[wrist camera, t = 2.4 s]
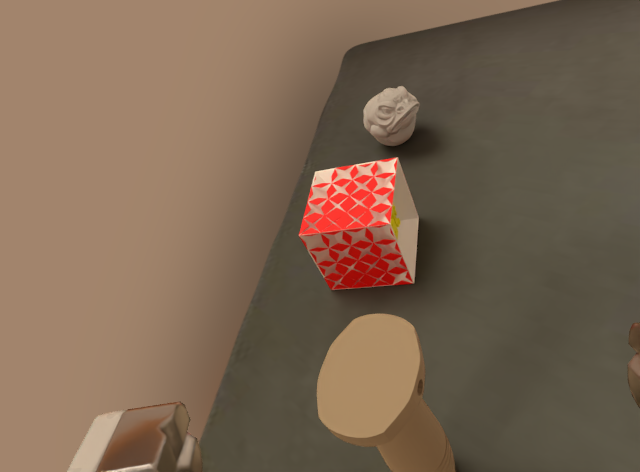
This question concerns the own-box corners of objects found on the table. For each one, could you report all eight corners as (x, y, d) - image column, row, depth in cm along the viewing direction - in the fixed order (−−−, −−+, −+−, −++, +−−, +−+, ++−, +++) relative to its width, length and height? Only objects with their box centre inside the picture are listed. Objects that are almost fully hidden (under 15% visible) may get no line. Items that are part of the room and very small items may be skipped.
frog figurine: (404, 166, 57) (386, 115, 52) (361, 149, 62) (341, 100, 57) (440, 132, 59) (426, 79, 54) (395, 118, 64) (379, 68, 59)
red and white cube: (414, 283, 46) (390, 224, 41) (331, 290, 49) (298, 235, 44) (418, 217, 51) (398, 156, 46) (343, 226, 54) (315, 170, 49)
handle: (387, 517, 35) (300, 424, 25) (411, 423, 38) (343, 309, 28) (461, 540, 32) (397, 448, 22) (479, 438, 36) (432, 319, 26)
